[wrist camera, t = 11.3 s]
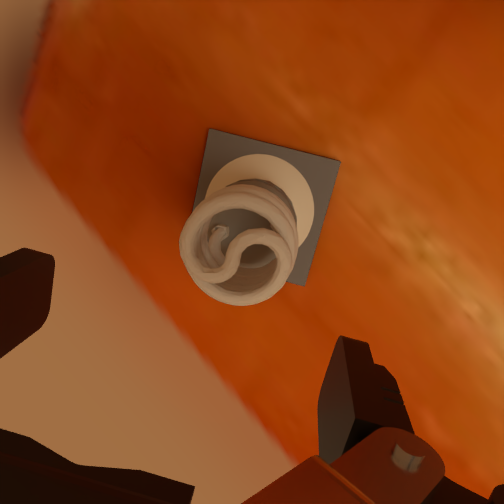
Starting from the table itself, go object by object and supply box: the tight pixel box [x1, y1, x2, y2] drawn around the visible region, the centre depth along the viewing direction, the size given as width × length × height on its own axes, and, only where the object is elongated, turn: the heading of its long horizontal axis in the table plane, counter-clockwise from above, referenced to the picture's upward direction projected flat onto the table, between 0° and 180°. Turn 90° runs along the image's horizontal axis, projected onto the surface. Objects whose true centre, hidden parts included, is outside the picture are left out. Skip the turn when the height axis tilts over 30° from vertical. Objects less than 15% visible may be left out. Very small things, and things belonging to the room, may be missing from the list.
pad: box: [192, 129, 341, 286], centre depth 31 cm, size 9×9×1 cm
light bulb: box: [179, 178, 299, 306], centre depth 25 cm, size 6×6×12 cm
